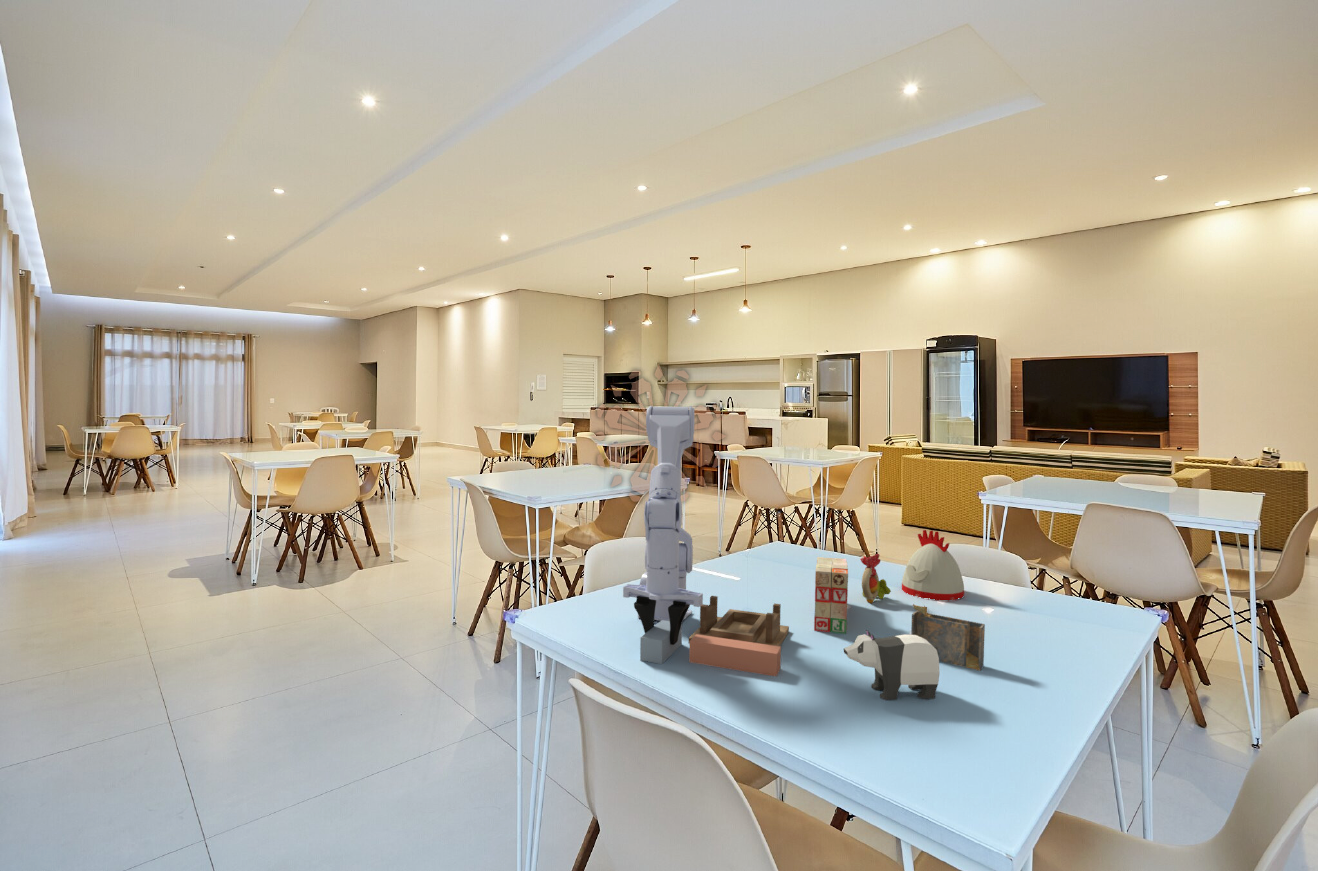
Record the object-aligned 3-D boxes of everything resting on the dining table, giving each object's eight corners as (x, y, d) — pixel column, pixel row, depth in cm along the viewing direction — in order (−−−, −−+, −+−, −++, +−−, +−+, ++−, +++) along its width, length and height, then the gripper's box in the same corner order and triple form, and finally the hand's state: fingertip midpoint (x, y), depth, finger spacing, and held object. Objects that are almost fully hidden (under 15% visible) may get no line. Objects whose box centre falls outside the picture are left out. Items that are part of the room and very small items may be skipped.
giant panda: (927, 684, 101) (929, 625, 101) (945, 700, 95) (946, 637, 95) (837, 685, 100) (838, 625, 100) (849, 701, 95) (851, 638, 94)
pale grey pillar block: (640, 660, 109) (640, 637, 109) (661, 641, 119) (661, 619, 119) (661, 663, 108) (662, 640, 108) (681, 644, 117) (682, 622, 117)
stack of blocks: (816, 600, 146) (817, 547, 146) (845, 603, 144) (846, 549, 144) (813, 631, 125) (815, 569, 125) (846, 634, 124) (848, 572, 123)
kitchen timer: (926, 582, 163) (927, 524, 163) (976, 595, 151) (978, 533, 151) (889, 589, 156) (891, 528, 156) (939, 604, 144) (941, 538, 144)
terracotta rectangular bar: (689, 663, 109) (689, 640, 109) (695, 656, 112) (696, 634, 112) (776, 677, 103) (776, 653, 103) (780, 670, 107) (780, 646, 107)
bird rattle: (884, 614, 143) (893, 589, 150) (879, 573, 139) (889, 550, 146) (856, 609, 146) (866, 585, 153) (851, 569, 142) (861, 547, 149)
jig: (688, 643, 118) (689, 610, 118) (710, 620, 131) (711, 590, 131) (774, 656, 112) (774, 621, 112) (788, 631, 125) (789, 600, 125)
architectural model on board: (909, 657, 113) (911, 603, 113) (915, 652, 116) (916, 599, 115) (979, 673, 106) (981, 616, 106) (983, 668, 109) (985, 612, 108)
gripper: (616, 566, 112) (615, 642, 112) (694, 574, 106) (693, 654, 107) (632, 557, 118) (631, 629, 119) (706, 565, 113) (705, 640, 113)
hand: (661, 640), depth 113 cm, fingers closed on pale grey pillar block, 4 cm apart
